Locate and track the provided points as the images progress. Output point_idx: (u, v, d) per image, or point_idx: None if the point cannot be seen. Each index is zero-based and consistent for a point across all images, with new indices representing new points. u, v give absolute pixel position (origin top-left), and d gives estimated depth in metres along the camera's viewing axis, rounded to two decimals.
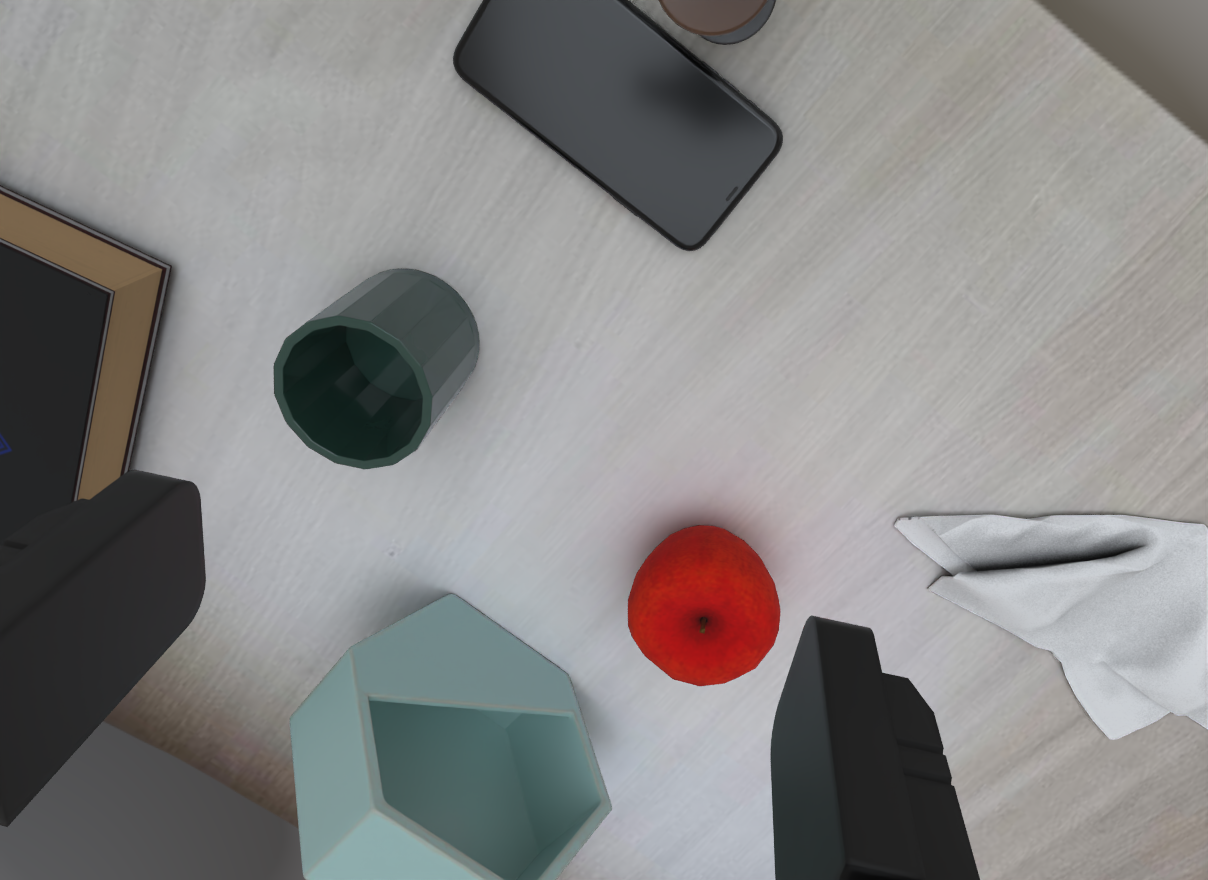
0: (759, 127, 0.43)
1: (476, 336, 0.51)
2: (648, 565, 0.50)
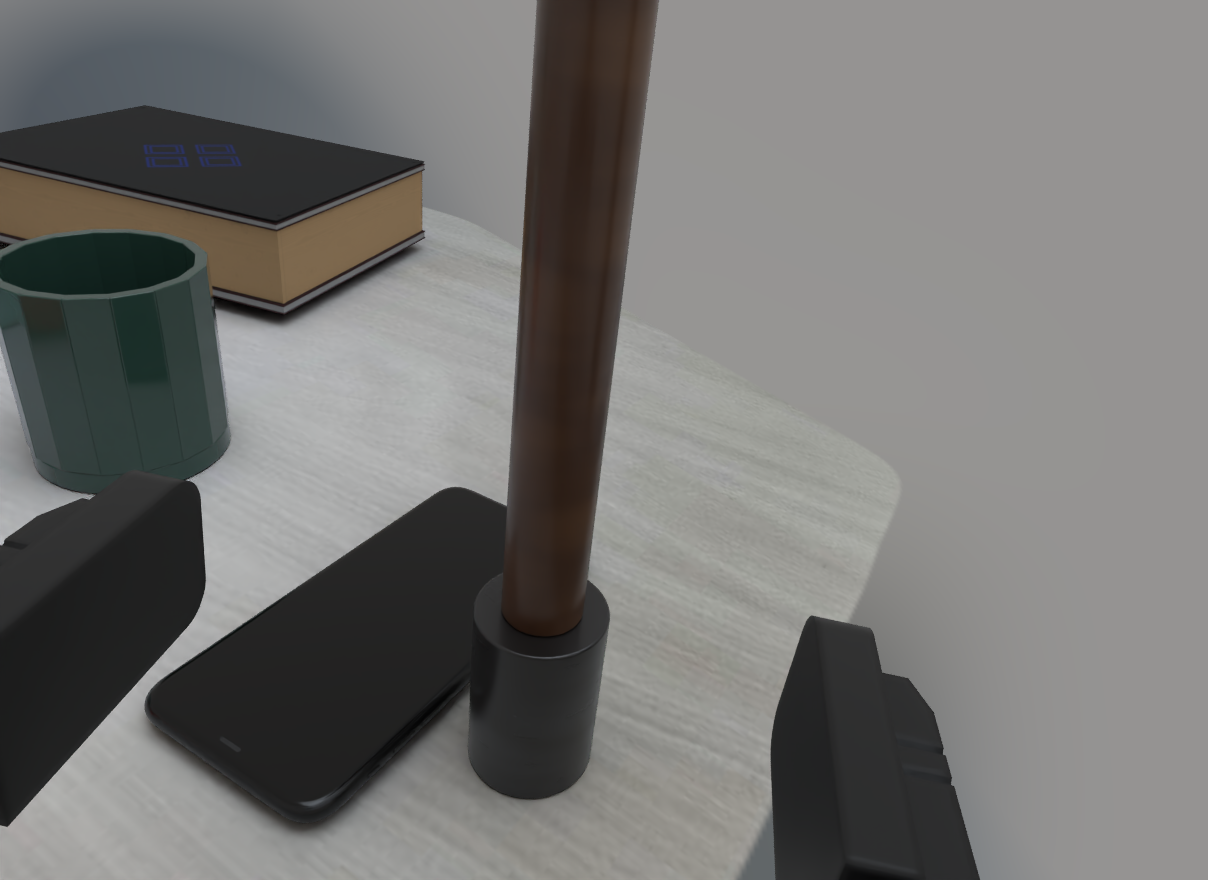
0: (334, 774, 0.26)
1: None
2: None
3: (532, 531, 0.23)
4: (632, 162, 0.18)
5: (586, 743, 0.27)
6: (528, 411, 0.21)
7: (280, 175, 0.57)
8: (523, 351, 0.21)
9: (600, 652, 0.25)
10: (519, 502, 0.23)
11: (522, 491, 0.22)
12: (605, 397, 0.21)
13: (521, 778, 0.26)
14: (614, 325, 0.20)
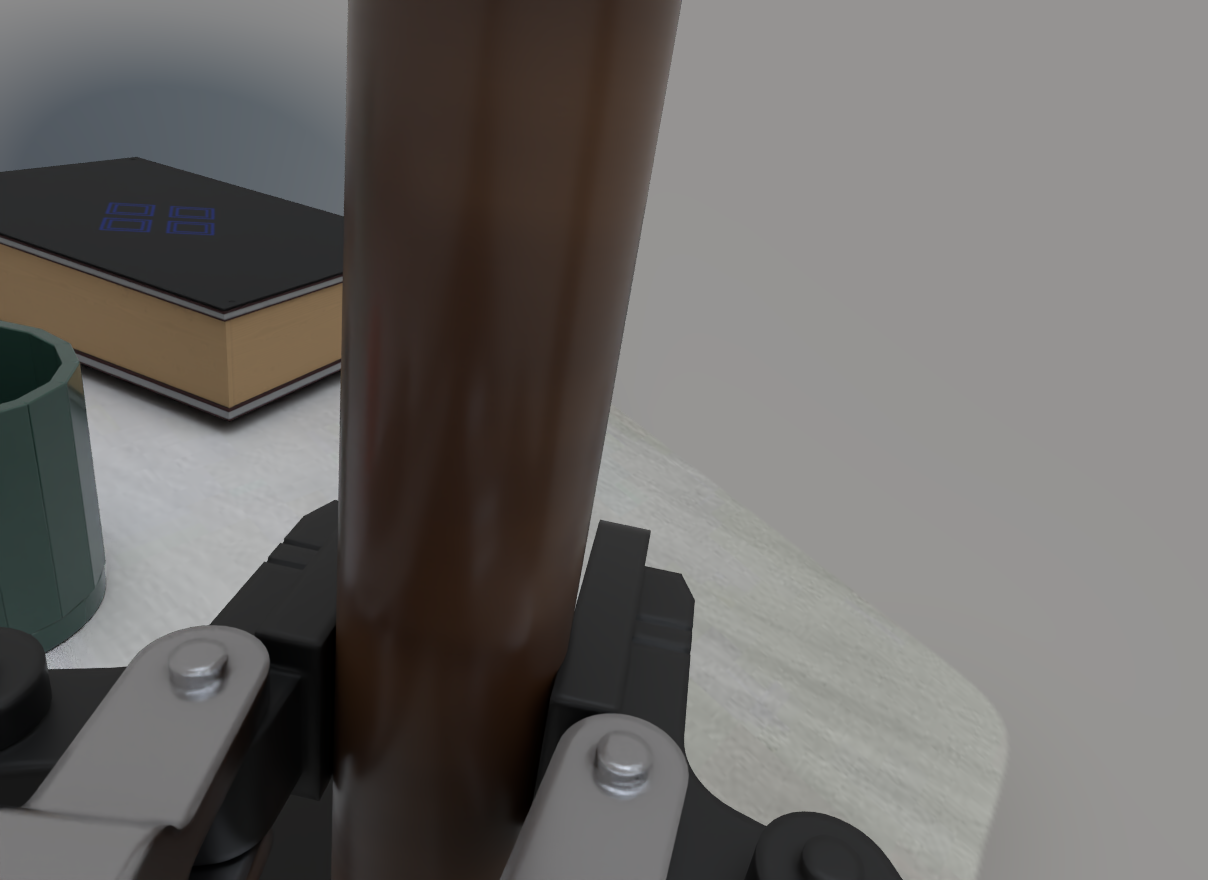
0: None
1: None
2: None
3: None
4: (589, 409, 0.07)
5: None
6: (346, 879, 0.10)
7: (255, 249, 0.48)
8: (337, 765, 0.09)
9: None
10: None
11: None
12: None
13: None
14: (540, 734, 0.09)
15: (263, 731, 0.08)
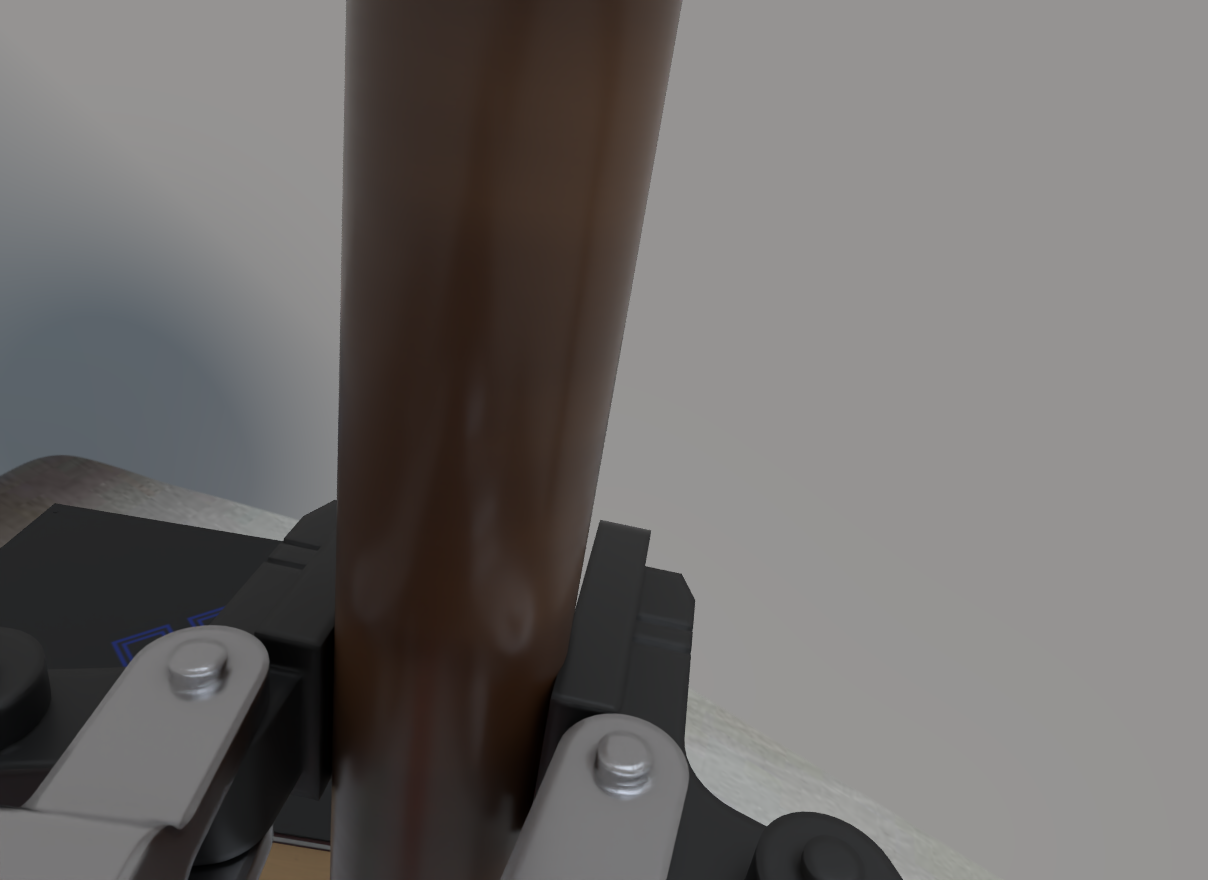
0: None
1: None
2: None
3: None
4: (589, 414, 0.07)
5: None
6: None
7: None
8: (335, 770, 0.09)
9: None
10: None
11: None
12: None
13: None
14: (539, 738, 0.09)
15: (262, 731, 0.08)
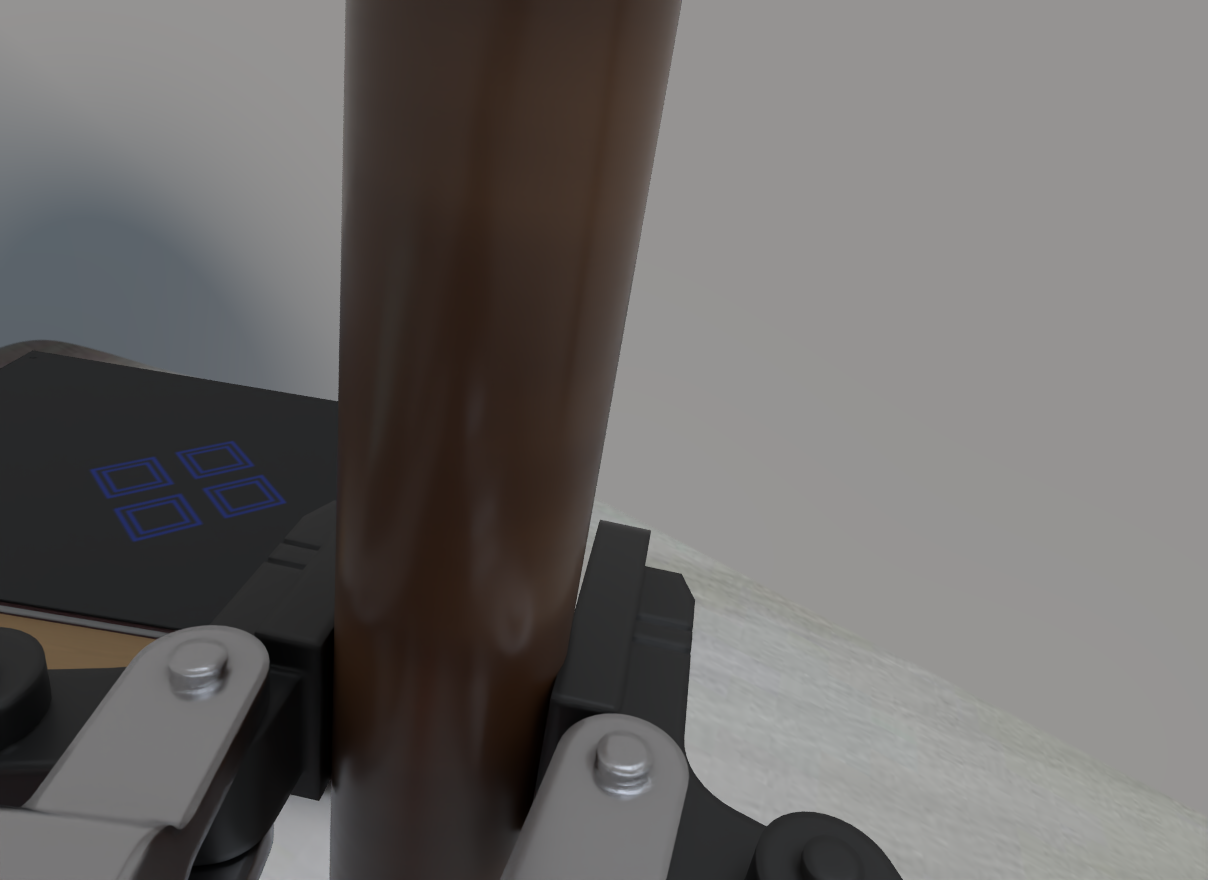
0: None
1: None
2: None
3: None
4: (589, 414, 0.07)
5: None
6: None
7: None
8: (335, 770, 0.09)
9: None
10: None
11: None
12: None
13: None
14: (539, 738, 0.09)
15: (262, 731, 0.08)
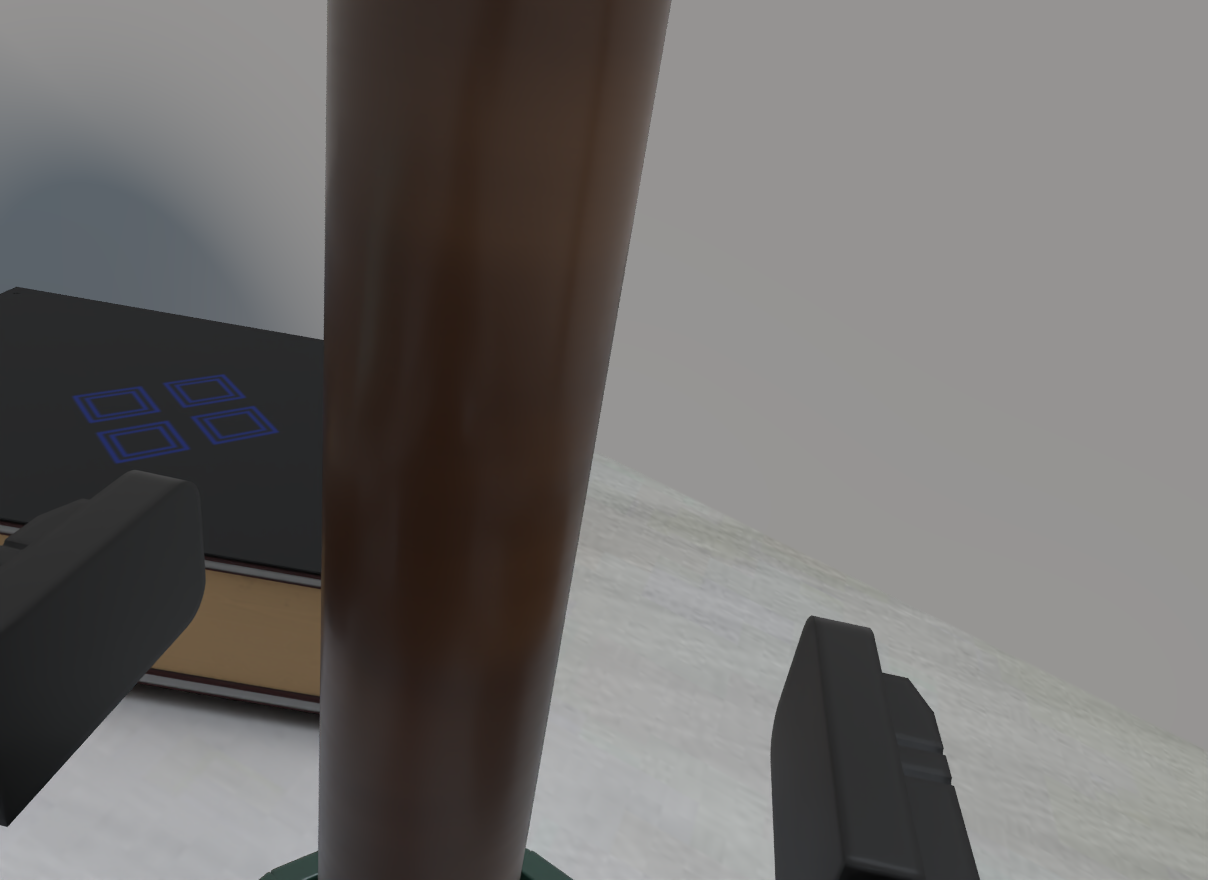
0: None
1: None
2: None
3: None
4: (574, 441, 0.07)
5: None
6: None
7: None
8: (322, 793, 0.09)
9: None
10: None
11: None
12: None
13: None
14: (526, 762, 0.09)
15: None
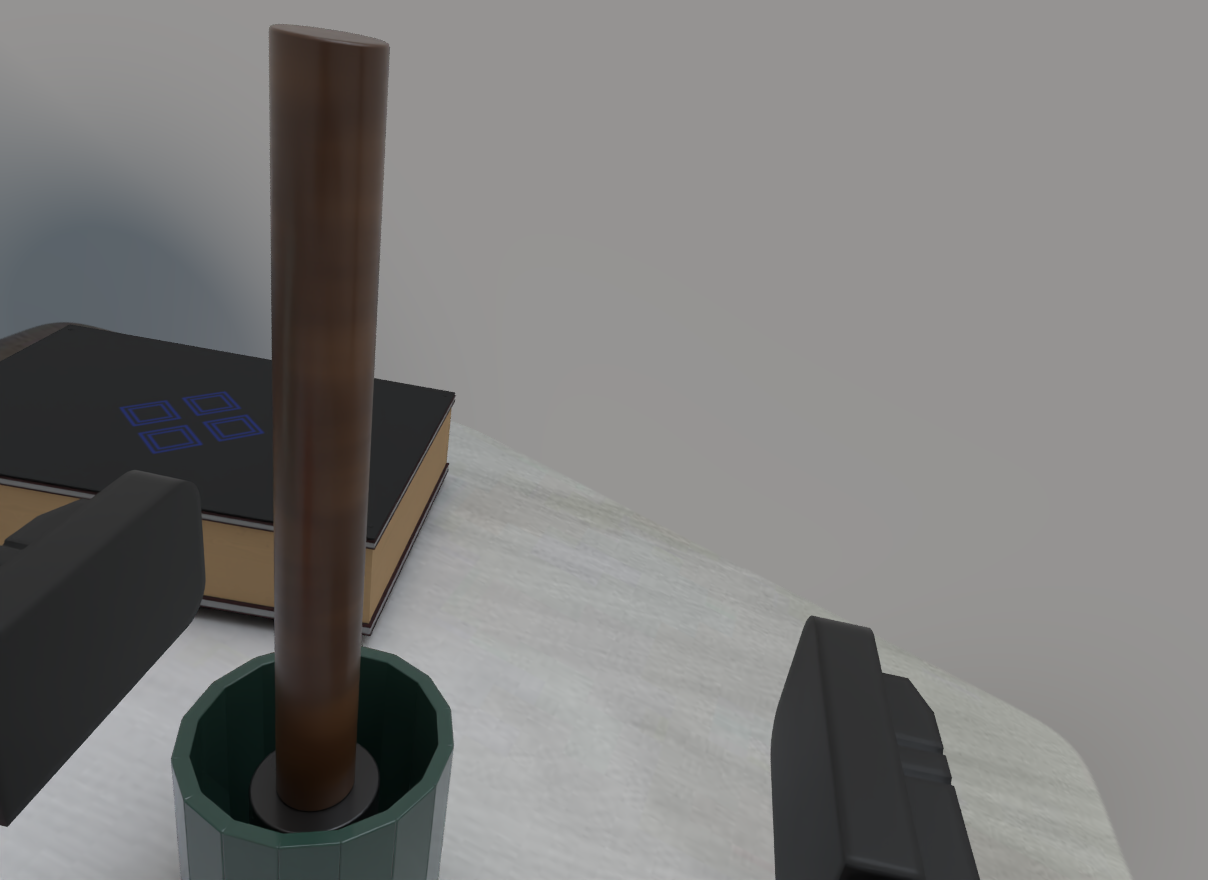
0: None
1: None
2: None
3: (288, 721, 0.25)
4: (355, 433, 0.22)
5: None
6: (279, 621, 0.24)
7: None
8: (274, 571, 0.24)
9: None
10: (278, 693, 0.25)
11: (279, 685, 0.25)
12: (350, 613, 0.24)
13: None
14: (352, 556, 0.23)
15: None
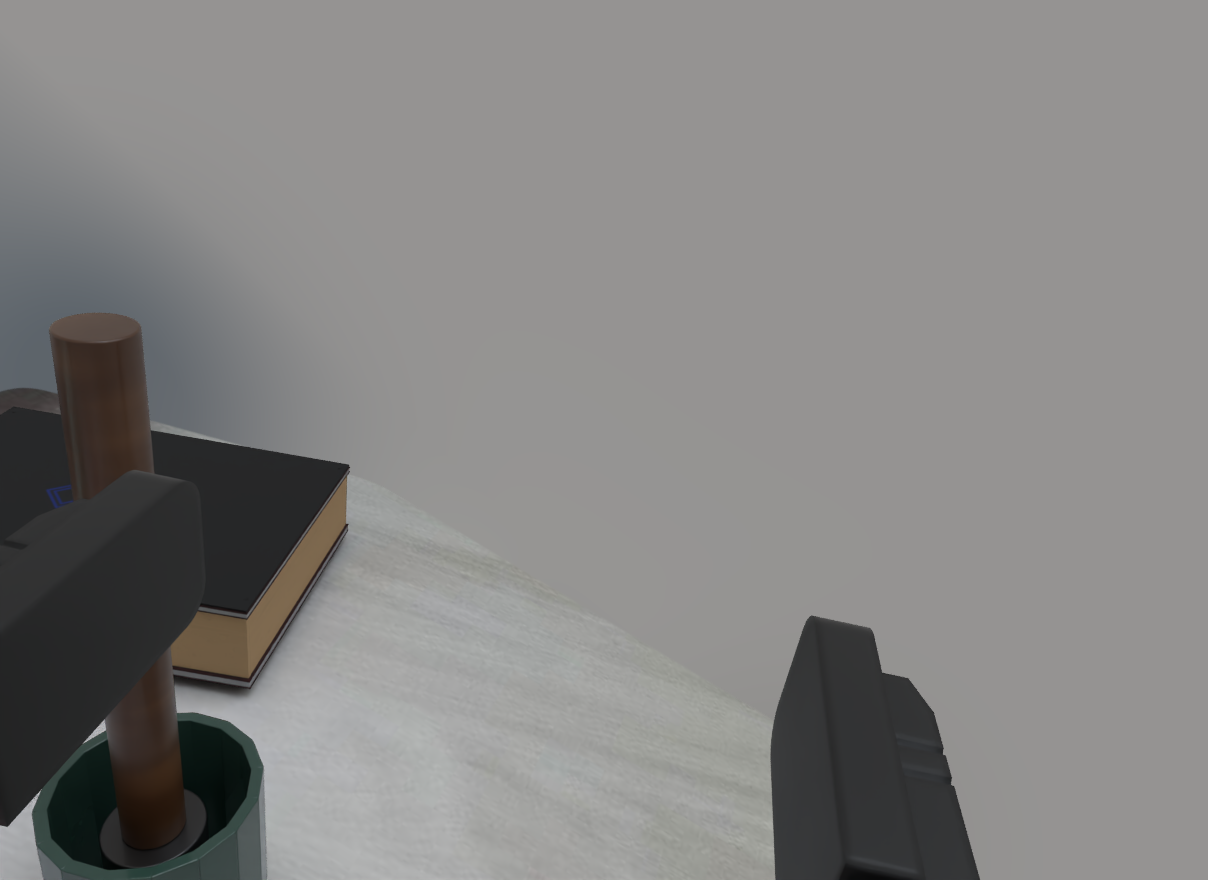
0: None
1: None
2: None
3: (119, 783, 0.33)
4: None
5: None
6: None
7: (216, 521, 0.56)
8: None
9: None
10: (111, 763, 0.33)
11: (111, 757, 0.33)
12: (158, 705, 0.32)
13: None
14: (154, 666, 0.31)
15: None
